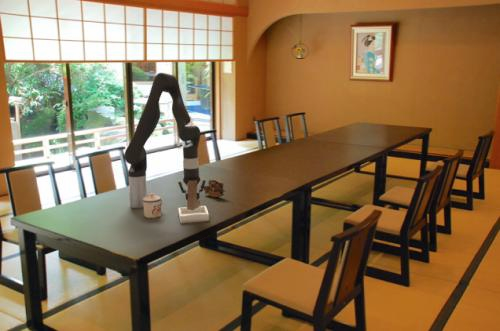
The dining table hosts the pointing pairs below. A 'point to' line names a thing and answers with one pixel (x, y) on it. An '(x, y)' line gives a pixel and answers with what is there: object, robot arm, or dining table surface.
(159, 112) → the robot arm
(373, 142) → the dining table surface
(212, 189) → the wooden carving
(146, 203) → the teacup with lid
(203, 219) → the tray
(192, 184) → the wooden block
